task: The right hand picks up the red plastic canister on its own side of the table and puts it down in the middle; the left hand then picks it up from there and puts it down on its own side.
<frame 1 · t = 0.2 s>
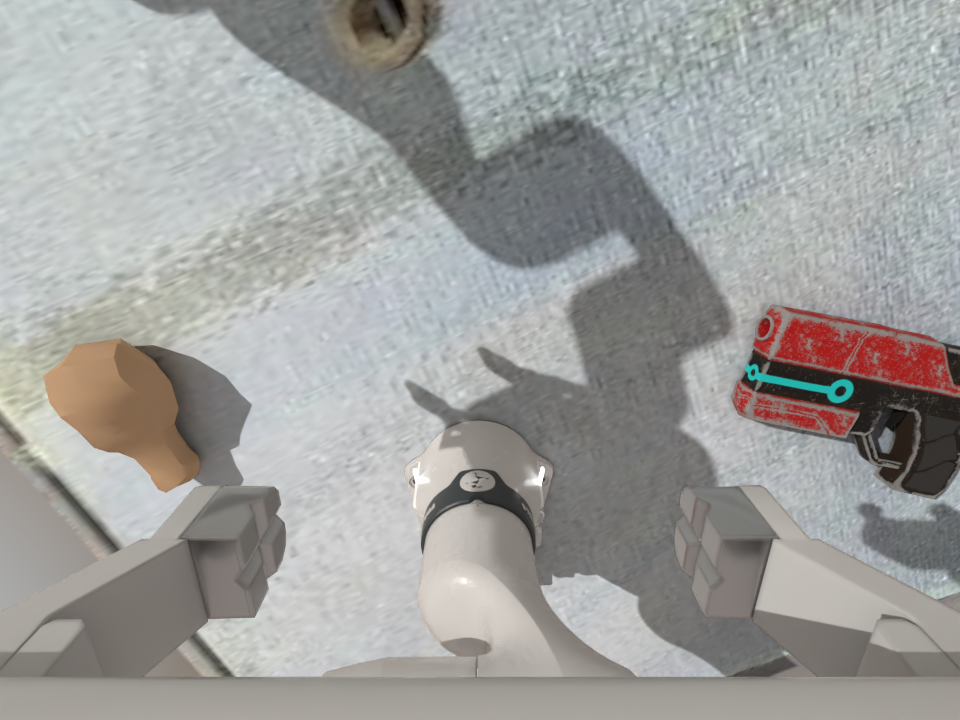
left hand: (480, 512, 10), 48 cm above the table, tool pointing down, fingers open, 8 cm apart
squash: (156, 403, 63), on the table
gun: (851, 393, 62), on the table
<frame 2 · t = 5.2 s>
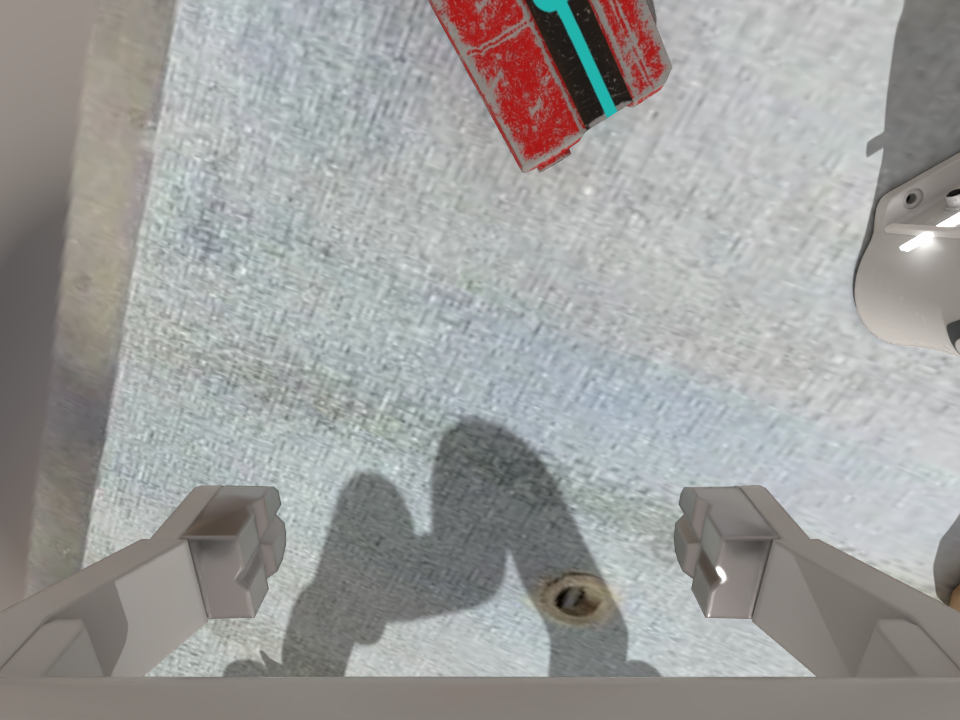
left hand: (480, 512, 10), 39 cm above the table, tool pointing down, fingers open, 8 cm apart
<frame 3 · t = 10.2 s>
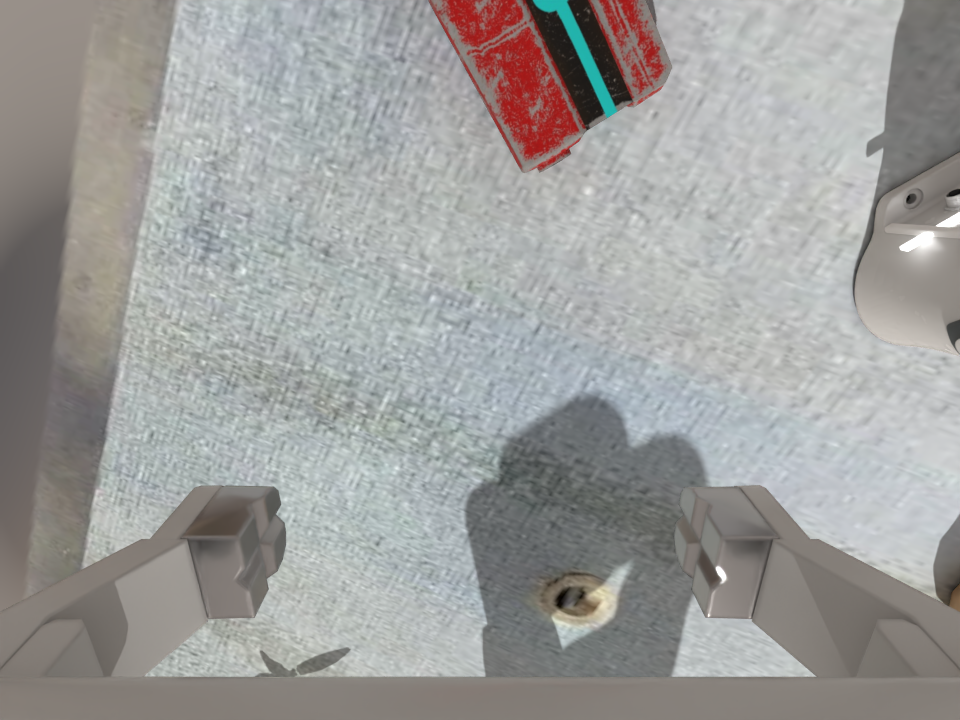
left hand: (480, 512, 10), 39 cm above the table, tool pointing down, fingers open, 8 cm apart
when the right hand's fingers open (1 cm above the table, at t = 15.4 s): canister drops 1 cm, on the table.
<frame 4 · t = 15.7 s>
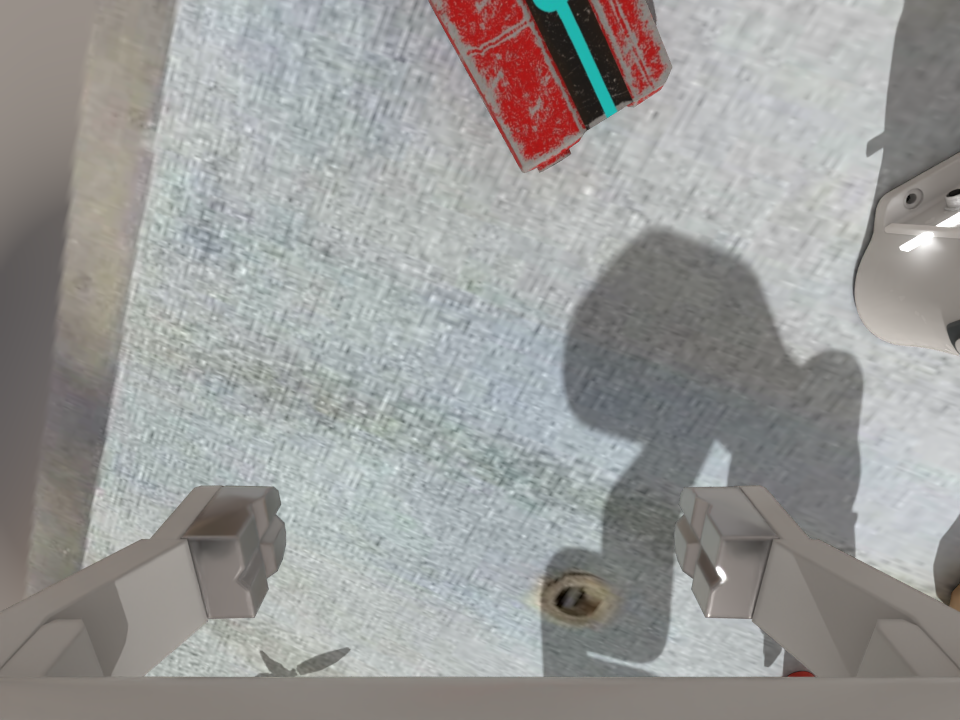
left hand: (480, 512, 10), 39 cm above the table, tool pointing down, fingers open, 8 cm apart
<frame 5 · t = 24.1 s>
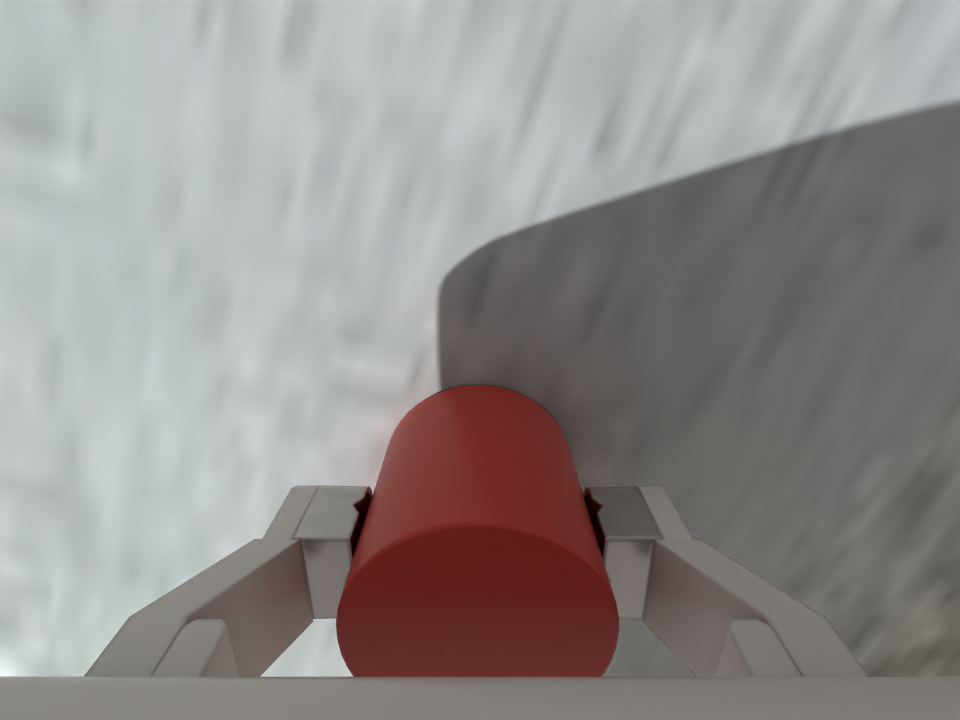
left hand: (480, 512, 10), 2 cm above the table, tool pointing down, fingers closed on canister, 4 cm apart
canister: (478, 467, 12), on the table, touching left hand
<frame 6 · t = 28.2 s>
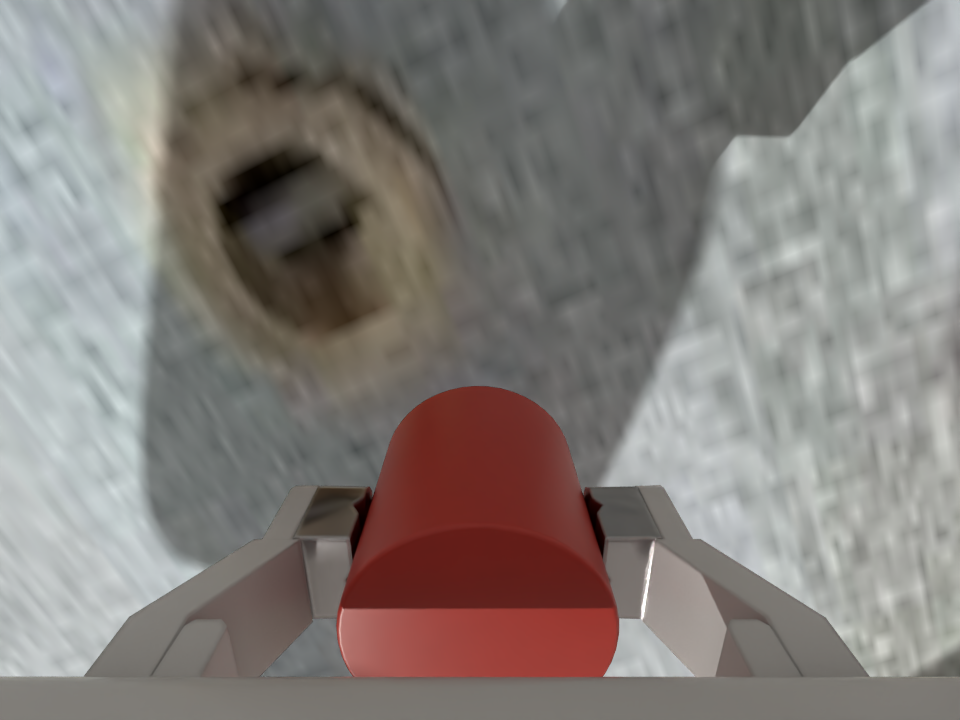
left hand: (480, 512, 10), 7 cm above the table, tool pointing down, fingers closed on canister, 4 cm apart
canister: (478, 468, 12), point 5 cm above the table, touching left hand
when the left hand's fingers open (3 cm above the table, at t = 32.6 s): canister drops 1 cm, on the table.
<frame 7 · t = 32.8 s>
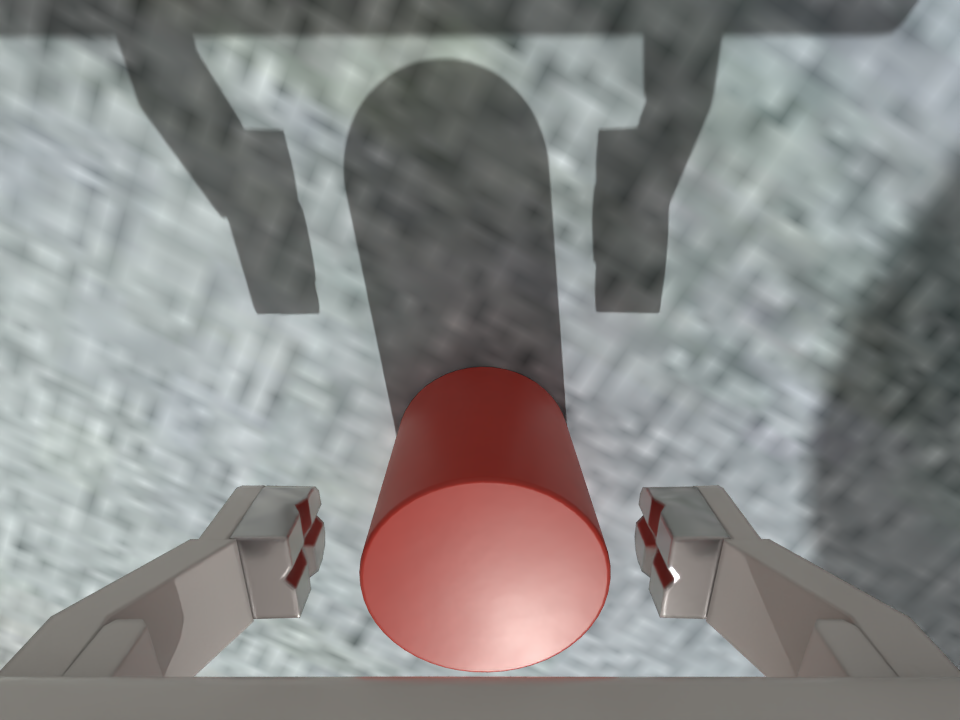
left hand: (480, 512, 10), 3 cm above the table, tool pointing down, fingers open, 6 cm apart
canister: (483, 443, 13), on the table
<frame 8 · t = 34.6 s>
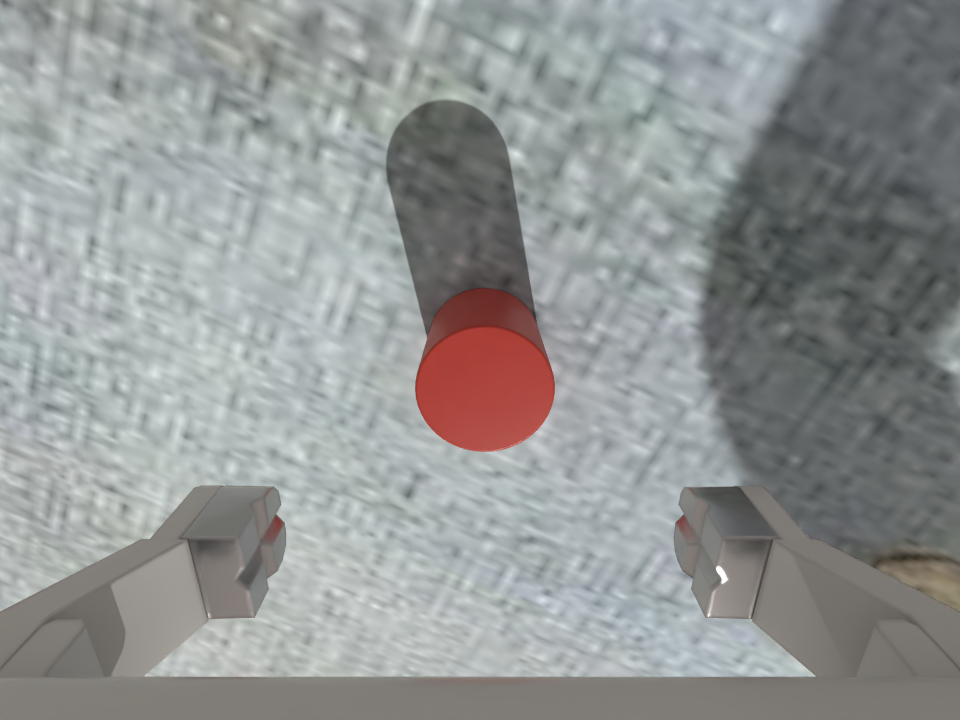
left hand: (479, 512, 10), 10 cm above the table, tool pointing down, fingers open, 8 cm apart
canister: (484, 341, 20), on the table
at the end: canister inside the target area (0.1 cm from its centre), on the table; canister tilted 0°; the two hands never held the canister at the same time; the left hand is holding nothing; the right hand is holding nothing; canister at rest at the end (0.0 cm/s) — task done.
